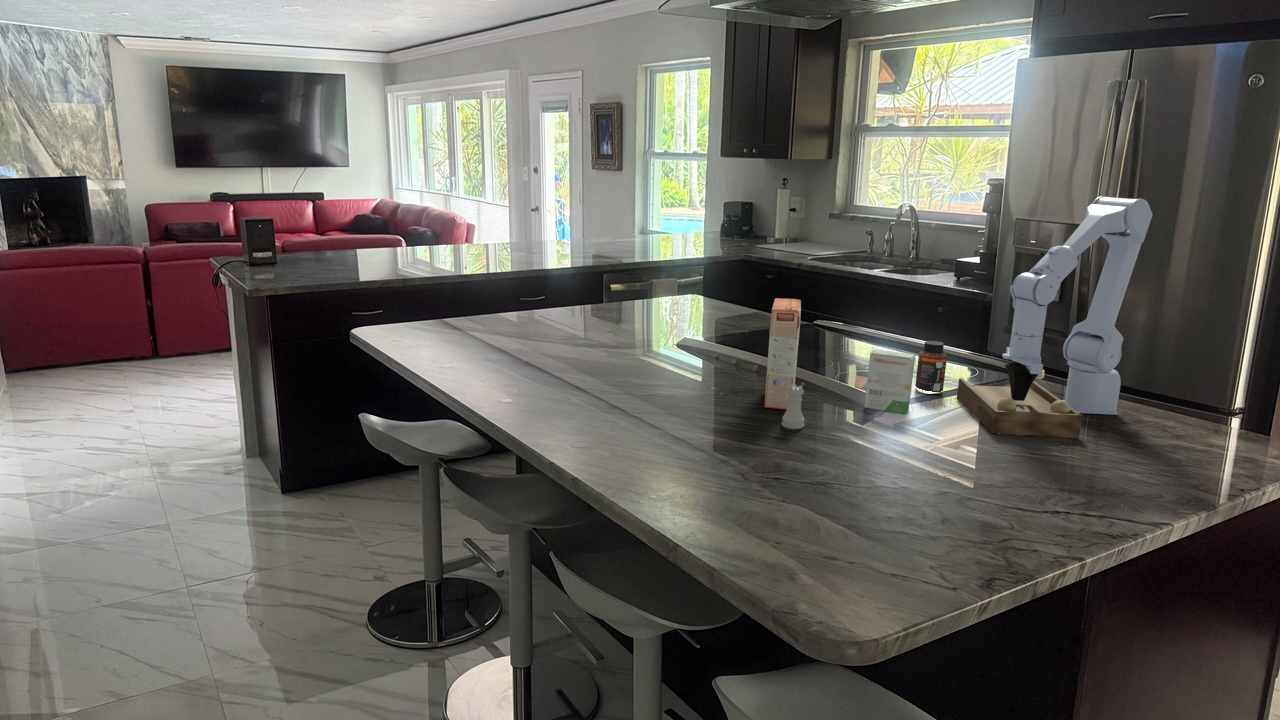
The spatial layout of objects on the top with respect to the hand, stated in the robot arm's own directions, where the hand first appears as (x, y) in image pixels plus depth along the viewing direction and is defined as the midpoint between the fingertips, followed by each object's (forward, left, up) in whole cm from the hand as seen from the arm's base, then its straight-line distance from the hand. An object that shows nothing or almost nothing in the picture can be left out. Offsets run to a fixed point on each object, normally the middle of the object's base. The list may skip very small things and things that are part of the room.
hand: (1017, 399), depth 173 cm
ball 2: (-5, +8, +1) cm, 9 cm away
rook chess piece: (+46, +12, -4) cm, 48 cm away
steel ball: (0, +3, -2) cm, 3 cm away
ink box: (+25, -3, -4) cm, 26 cm away
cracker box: (+47, -5, -4) cm, 47 cm away
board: (0, -1, -4) cm, 4 cm away
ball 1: (+5, +8, +1) cm, 9 cm away
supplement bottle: (+13, -17, -4) cm, 22 cm away
